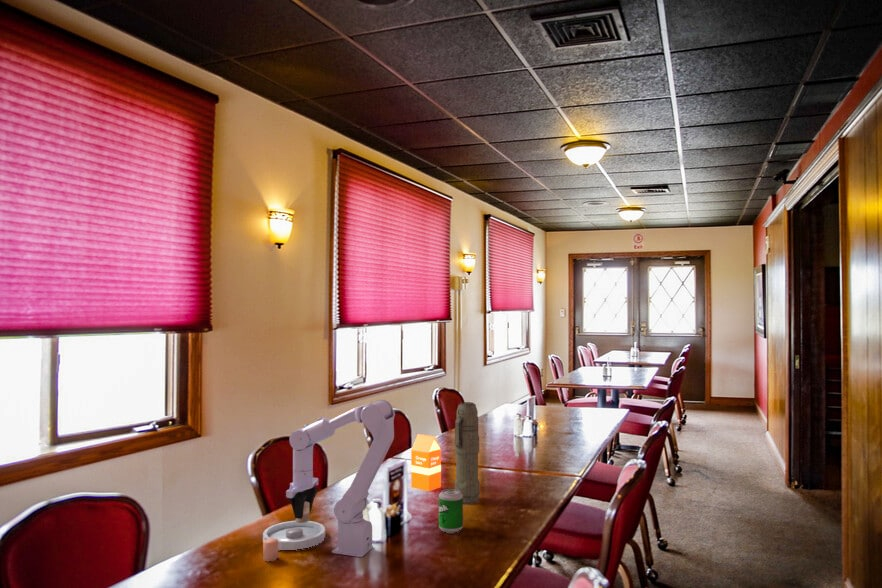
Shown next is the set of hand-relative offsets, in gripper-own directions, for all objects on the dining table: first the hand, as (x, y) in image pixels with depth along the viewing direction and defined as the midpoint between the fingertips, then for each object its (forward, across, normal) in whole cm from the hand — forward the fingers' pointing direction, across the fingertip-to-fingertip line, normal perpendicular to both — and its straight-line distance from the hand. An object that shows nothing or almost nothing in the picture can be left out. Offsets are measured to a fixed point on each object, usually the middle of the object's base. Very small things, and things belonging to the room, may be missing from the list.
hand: (302, 515), depth 186 cm
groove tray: (+8, -3, -4) cm, 10 cm away
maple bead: (+1, 0, 0) cm, 1 cm away
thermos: (+9, -56, +34) cm, 65 cm away
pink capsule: (+8, +12, -3) cm, 15 cm away
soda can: (+9, -26, +38) cm, 46 cm away
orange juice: (+9, -67, +14) cm, 69 cm away
